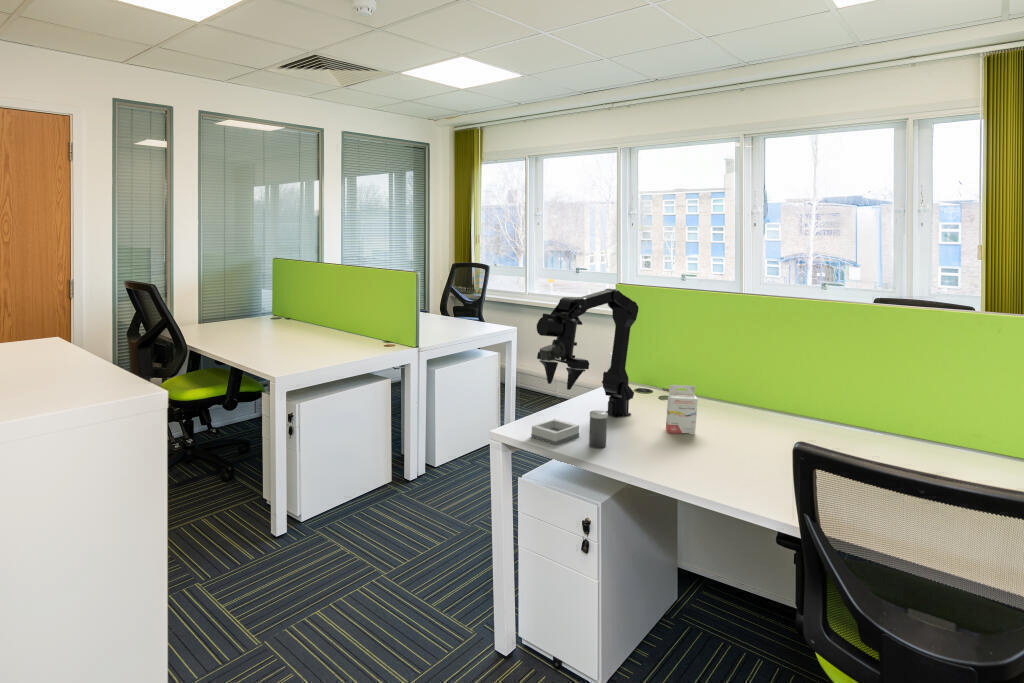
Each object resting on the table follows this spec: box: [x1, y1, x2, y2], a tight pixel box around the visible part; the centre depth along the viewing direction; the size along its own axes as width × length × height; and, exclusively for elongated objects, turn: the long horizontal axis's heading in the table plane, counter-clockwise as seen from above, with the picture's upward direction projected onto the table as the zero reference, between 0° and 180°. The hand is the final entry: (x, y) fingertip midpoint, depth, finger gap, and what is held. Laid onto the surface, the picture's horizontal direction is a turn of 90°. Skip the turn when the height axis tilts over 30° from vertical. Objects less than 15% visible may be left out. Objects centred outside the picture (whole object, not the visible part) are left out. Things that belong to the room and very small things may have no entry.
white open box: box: [530, 418, 580, 446], centre depth 189 cm, size 11×10×4 cm
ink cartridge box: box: [665, 384, 699, 435], centre depth 194 cm, size 9×5×15 cm, turn 84°
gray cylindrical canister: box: [588, 409, 609, 449], centre depth 181 cm, size 5×5×10 cm
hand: (558, 386), depth 194 cm, fingers open, 9 cm apart
